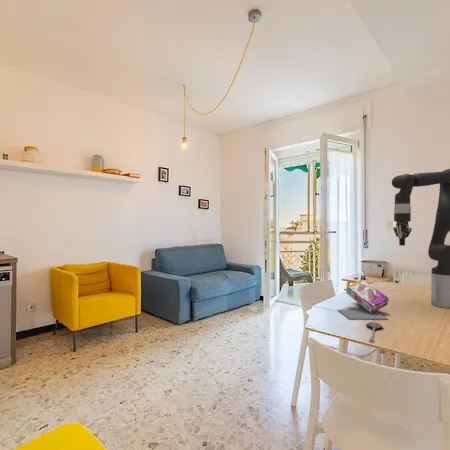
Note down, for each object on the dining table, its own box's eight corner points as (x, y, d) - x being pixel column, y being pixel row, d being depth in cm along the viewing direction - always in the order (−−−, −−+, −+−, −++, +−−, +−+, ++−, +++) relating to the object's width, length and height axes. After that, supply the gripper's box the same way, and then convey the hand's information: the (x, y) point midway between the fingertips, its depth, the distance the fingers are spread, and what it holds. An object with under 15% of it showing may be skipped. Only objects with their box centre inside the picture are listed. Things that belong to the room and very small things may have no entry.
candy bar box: (373, 307, 139) (346, 286, 152) (371, 314, 142) (345, 293, 155) (389, 297, 143) (362, 278, 156) (387, 304, 146) (360, 285, 159)
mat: (373, 310, 149) (373, 309, 149) (388, 320, 135) (388, 318, 135) (337, 310, 149) (337, 309, 149) (349, 319, 135) (349, 318, 135)
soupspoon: (383, 328, 127) (367, 326, 131) (383, 320, 127) (366, 319, 131) (381, 344, 108) (361, 342, 112) (380, 335, 109) (361, 333, 112)
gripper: (417, 212, 148) (417, 246, 148) (401, 213, 161) (401, 244, 161) (402, 212, 148) (402, 246, 148) (388, 213, 161) (388, 244, 161)
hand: (402, 245), depth 155 cm, fingers closed
